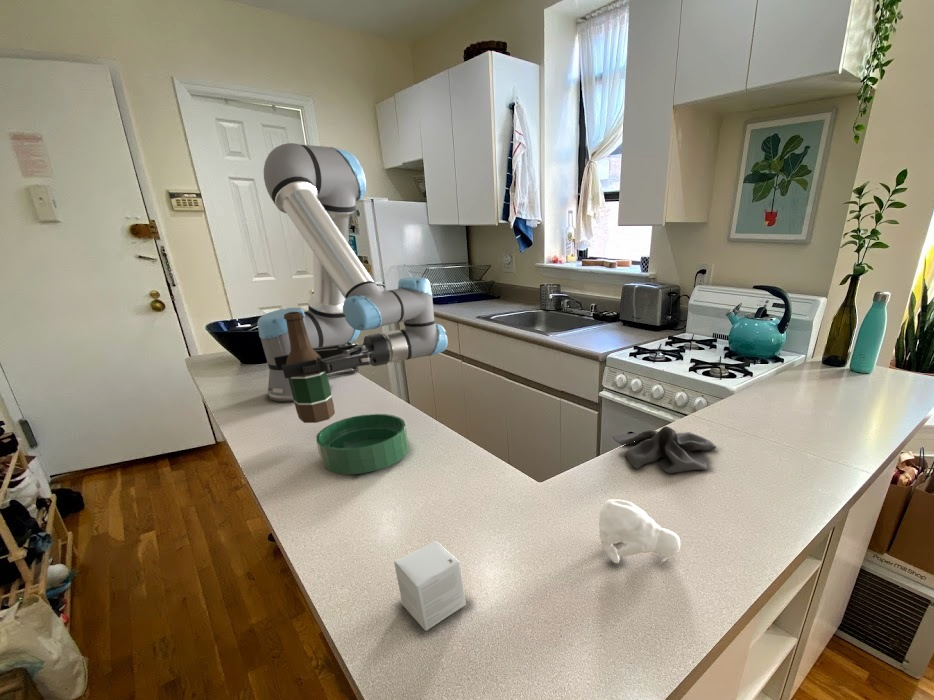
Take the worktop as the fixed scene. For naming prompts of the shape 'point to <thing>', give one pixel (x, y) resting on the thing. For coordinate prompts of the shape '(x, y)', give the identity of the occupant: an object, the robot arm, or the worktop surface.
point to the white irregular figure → (633, 532)
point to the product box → (430, 584)
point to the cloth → (667, 449)
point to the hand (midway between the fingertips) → (279, 367)
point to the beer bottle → (307, 375)
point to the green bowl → (362, 443)
